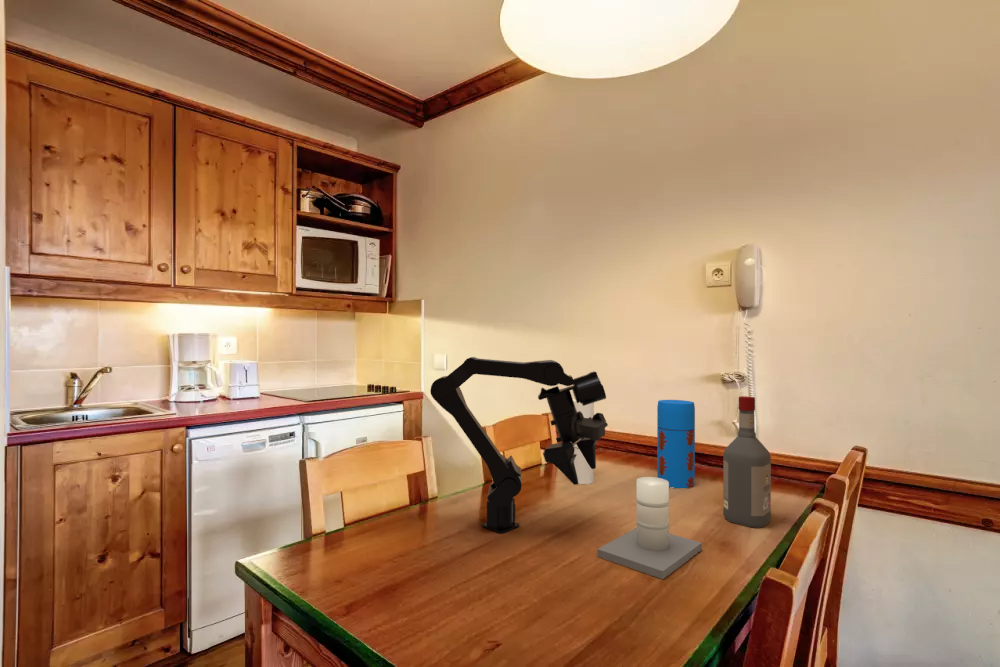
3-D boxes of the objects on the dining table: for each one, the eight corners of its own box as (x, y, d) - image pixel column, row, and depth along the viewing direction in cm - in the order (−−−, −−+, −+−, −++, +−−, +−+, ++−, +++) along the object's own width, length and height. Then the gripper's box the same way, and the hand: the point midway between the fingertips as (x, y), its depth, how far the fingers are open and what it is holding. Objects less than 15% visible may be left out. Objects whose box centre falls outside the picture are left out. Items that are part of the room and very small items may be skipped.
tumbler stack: (649, 552, 100) (649, 487, 100) (630, 540, 106) (630, 478, 106) (675, 548, 102) (675, 484, 102) (655, 536, 108) (655, 475, 108)
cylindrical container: (593, 485, 151) (593, 402, 151) (569, 483, 152) (569, 401, 153) (593, 478, 158) (594, 399, 158) (570, 477, 159) (571, 398, 160)
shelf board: (662, 579, 92) (662, 571, 92) (597, 556, 101) (597, 548, 101) (701, 549, 105) (701, 542, 105) (640, 531, 114) (640, 525, 114)
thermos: (649, 481, 156) (649, 400, 156) (675, 477, 160) (676, 399, 161) (675, 490, 146) (675, 404, 146) (702, 486, 150) (702, 403, 151)
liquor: (773, 520, 122) (773, 397, 122) (760, 530, 116) (760, 400, 116) (734, 511, 129) (734, 394, 129) (720, 520, 122) (720, 397, 123)
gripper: (574, 418, 104) (598, 490, 104) (610, 394, 119) (631, 457, 119) (532, 426, 111) (554, 494, 111) (571, 403, 126) (591, 462, 126)
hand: (585, 476), depth 116 cm, fingers open, 9 cm apart
